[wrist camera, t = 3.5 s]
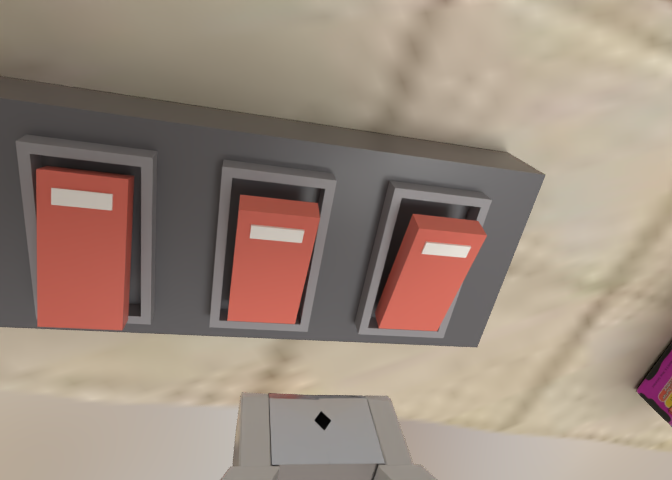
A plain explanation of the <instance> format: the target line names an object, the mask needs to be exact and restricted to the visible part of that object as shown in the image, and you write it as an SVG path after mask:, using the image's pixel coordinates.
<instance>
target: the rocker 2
mask: <svg viewBox="0 0 672 480" xmlns="http://www.w3.org/2000/svg"><path fill="white" fill-rule="evenodd" d="M319 221H320V214H319V207H318V203H312V202H303V201H294V200H285V199H276V198H267V197H258V196H249V195H240V200H239V210H238V219H237V229H236V238H235V248H234V257H233V267H232V276H231V286H230V295H229V305H228V318H227V321H243V322H263V323H283V324H295V322H296V318H297V313H298V309H299V305H300V301H301V297H302V292H303V288H304V284H305V280H306V276H307V271H308V267H309V263H310V259H311V255H312V250H313V246H314V242H315V238H316V234H317V229H318V225H319Z"/></svg>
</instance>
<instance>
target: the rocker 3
mask: <svg viewBox="0 0 672 480" xmlns="http://www.w3.org/2000/svg"><path fill="white" fill-rule="evenodd" d="M486 237H487V235H486V233H485V231H484V229H483V228H482V226H481V224H480V223H479V221H474V220H465V219H456V218H447V217H438V216H429V215H420V214H413V215H412V217H411V220H410V222H409V225H408V228H407V230H406V233H405V235H404V238H403V241H402V243H401V246H400V248H399V251H398V253H397V256H396V259H395V261H394V264H393V266H392V269H391V272H390V274H389V277H388V279H387V282H386V285H385V287H384V290H383V292H382V295H381V298H380V300H379V303H378V305H377V308H376V311H375V316H376V320H377V324H378V328H382V329H402V330H422V331H437V330H438V328H439V327H440V325H441V323H442V321H443V319H444V317H445V315H446V313H447V311H448V309H449V307H450V305H451V304H452V302H453V300H454V298H455V296H456V294H457V292H458V290H459V288H460V286H461V284H462V283H463V281H464V279H465V277H466V275H467V273H468V271H469V269H470V267H471V265H472V263H473V262H474V260H475V258H476V256H477V254H478V252H479V250H480V248H481V246H482V244H483V242H484V241H485V239H486Z"/></svg>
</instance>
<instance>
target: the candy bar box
mask: <svg viewBox="0 0 672 480" xmlns="http://www.w3.org/2000/svg"><path fill="white" fill-rule="evenodd" d="M636 392H637V393H638V394H639V395H640V396H641V397H642V398H643V399H644V400H645V401H646V402H647V403H648V404H649V405H650V406H651V407H652V408H653V409H654V410H655V411H656V412H657V413H658V414H659V415H660V416H661V417H662V418H663V419H664V420H665V421H667V422H668V423H669V425H670V426H671V427H672V342H671V344H670V345H669V346H668V348H667V349H666V350H665V352H664V353H663V355H662V356H661V357H660V359H659V360H658V361H657V363H656V364H655V365H654V367H653V368H652V370H651V371H650V372H649V374H648V375H647V376H646V378H645V379H644V380H643V382H642V383H641V384H640V386H639V387H638V389H637V391H636Z"/></svg>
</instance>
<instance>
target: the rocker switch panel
mask: <svg viewBox="0 0 672 480" xmlns="http://www.w3.org/2000/svg"><path fill="white" fill-rule="evenodd" d="M45 166H53V167H62V168H71V169H79V170H88V171H97V172H106V173H114V174H123V175H132V176H134V195H133V219H132V242H131V266H130V290H129V313H128V321H127V323H126V325H125V327H124V328H123V330H101V329H78V328H55V327H37V204H36V169H38V168H42V167H45ZM544 177H545V174H543V173H541V172H540V171H538V170H536V169H535V168H533V167H531V166H530V165H528V164H526V163H525V162H523V161H521V160H520V159H518V158H516V157H514V156H513V155H511V154H509V153H507V152H500V151H493V150H487V149H480V148H473V147H467V146H460V145H453V144H447V143H440V142H434V141H427V140H420V139H414V138H407V137H400V136H394V135H387V134H380V133H374V132H367V131H360V130H354V129H347V128H341V127H334V126H327V125H321V124H314V123H307V122H301V121H294V120H287V119H281V118H274V117H267V116H261V115H254V114H248V113H241V112H234V111H228V110H221V109H214V108H208V107H201V106H194V105H188V104H181V103H174V102H168V101H161V100H155V99H148V98H141V97H135V96H128V95H121V94H115V93H108V92H101V91H95V90H88V89H81V88H75V87H68V86H62V85H55V84H48V83H42V82H35V81H28V80H22V79H15V78H8V77H2V76H0V327H14V328H37V329H61V330H84V331H108V332H131V333H154V334H178V335H201V336H225V337H248V338H271V339H295V340H318V341H342V342H365V343H388V344H412V345H435V346H458V347H477V346H478V344H479V341H480V339H481V336H482V334H483V331H484V329H485V326H486V324H487V321H488V319H489V316H490V314H491V311H492V309H493V306H494V303H495V301H496V298H497V296H498V293H499V291H500V288H501V286H502V283H503V281H504V278H505V276H506V273H507V271H508V268H509V266H510V263H511V261H512V258H513V256H514V253H515V250H516V248H517V245H518V243H519V240H520V238H521V235H522V233H523V230H524V228H525V225H526V223H527V220H528V218H529V215H530V213H531V210H532V208H533V205H534V203H535V200H536V197H537V195H538V192H539V190H540V187H541V185H542V182H543V180H544ZM240 195H249V196H258V197H267V198H276V199H285V200H294V201H303V202H312V203H318V207H319V214H320V221H319V225H318V229H317V234H316V238H315V242H314V246H313V250H312V255H311V259H310V263H309V267H308V271H307V276H306V280H305V284H304V288H303V292H302V297H301V301H300V305H299V309H298V313H297V318H296V322H295V324H283V323H263V322H243V321H227V318H228V305H229V295H230V286H231V276H232V267H233V257H234V248H235V238H236V229H237V219H238V210H239V200H240ZM413 214H420V215H429V216H438V217H447V218H456V219H465V220H474V221H479V223H480V224H481V226H482V228H483V229H484V231H485V233H486V235H487V237H486V239H485V241H484V242H483V244H482V246H481V248H480V250H479V252H478V254H477V256H476V258H475V260H474V262H473V263H472V265H471V267H470V269H469V271H468V273H467V275H466V277H465V279H464V281H463V283H462V284H461V286H460V288H459V290H458V292H457V294H456V296H455V298H454V300H453V302H452V304H451V305H450V307H449V309H448V311H447V313H446V315H445V317H444V319H443V321H442V323H441V325H440V327H439V328H438V330H437V331H422V330H402V329H382V328H378V324H377V320H376V316H375V311H376V308H377V305H378V303H379V300H380V298H381V295H382V292H383V290H384V287H385V285H386V282H387V279H388V277H389V274H390V272H391V269H392V266H393V264H394V261H395V259H396V256H397V253H398V251H399V248H400V246H401V243H402V241H403V238H404V235H405V233H406V230H407V228H408V225H409V222H410V220H411V217H412V215H413Z"/></svg>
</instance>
